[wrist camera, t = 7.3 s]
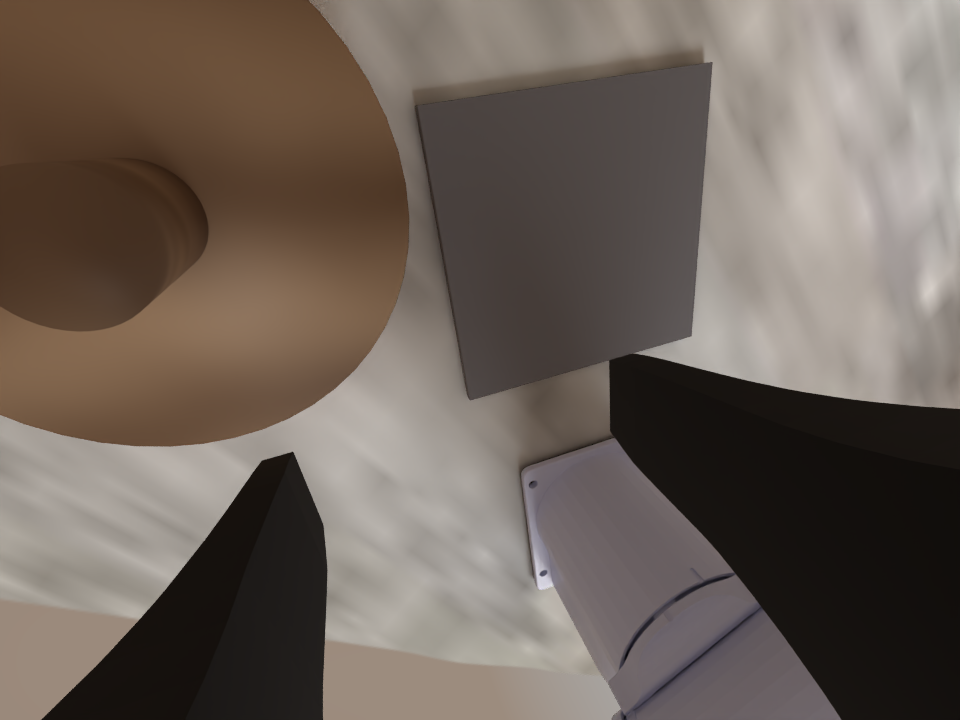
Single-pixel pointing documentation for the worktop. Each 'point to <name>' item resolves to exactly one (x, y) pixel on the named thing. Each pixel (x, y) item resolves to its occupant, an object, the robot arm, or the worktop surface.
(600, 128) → the mat
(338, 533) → the worktop surface
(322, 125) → the lid
